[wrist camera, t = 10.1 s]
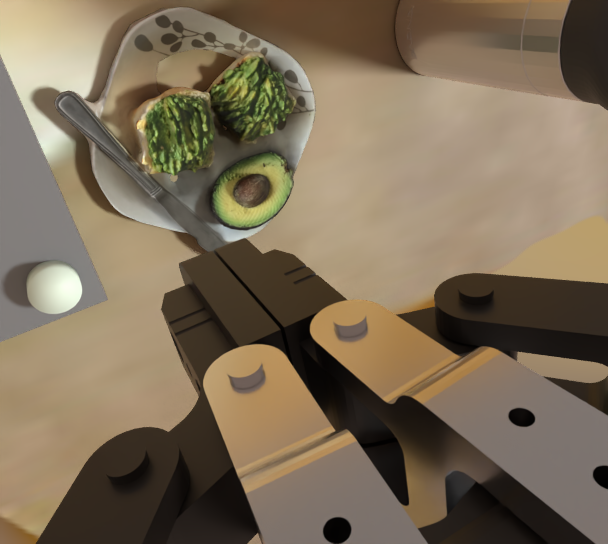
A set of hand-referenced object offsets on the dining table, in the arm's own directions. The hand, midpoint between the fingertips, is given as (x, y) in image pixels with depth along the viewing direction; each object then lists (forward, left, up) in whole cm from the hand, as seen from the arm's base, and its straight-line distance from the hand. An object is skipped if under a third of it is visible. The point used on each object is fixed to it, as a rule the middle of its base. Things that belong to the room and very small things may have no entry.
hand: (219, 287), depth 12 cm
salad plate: (-9, +6, -33) cm, 34 cm away
